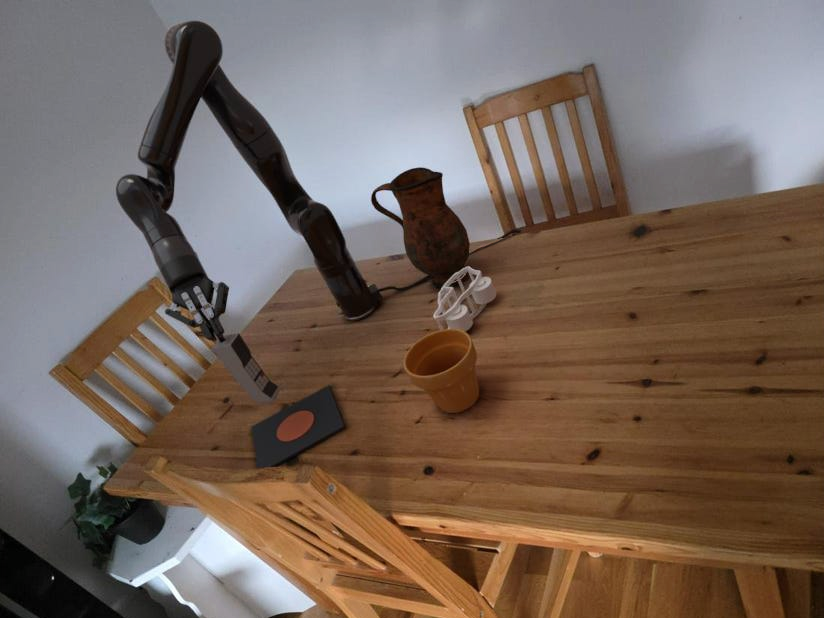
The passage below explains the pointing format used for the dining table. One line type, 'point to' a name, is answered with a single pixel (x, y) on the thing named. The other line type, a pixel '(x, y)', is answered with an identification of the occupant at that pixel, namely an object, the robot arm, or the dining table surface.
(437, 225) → the pitcher
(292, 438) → the mat
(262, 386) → the vintage mobile phone
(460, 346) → the flower pot
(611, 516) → the dining table surface
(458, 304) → the skeletal toy car
